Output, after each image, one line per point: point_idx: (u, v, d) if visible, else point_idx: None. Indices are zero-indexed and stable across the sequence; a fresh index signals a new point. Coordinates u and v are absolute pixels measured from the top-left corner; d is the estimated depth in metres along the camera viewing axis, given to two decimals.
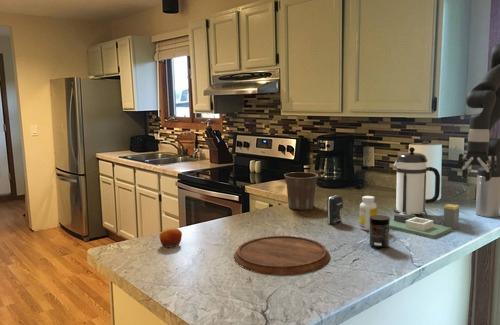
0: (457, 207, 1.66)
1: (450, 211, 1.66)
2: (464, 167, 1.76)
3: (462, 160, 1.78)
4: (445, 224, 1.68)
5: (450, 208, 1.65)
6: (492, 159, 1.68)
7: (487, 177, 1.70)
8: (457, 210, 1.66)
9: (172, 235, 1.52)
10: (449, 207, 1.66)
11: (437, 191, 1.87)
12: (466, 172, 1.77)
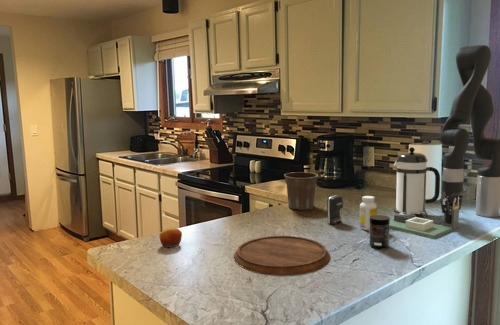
0: (457, 207, 1.66)
1: None
2: (451, 211, 1.65)
3: None
4: (445, 224, 1.68)
5: None
6: (461, 198, 1.69)
7: None
8: (457, 210, 1.66)
9: (172, 235, 1.52)
10: None
11: (437, 191, 1.87)
12: None
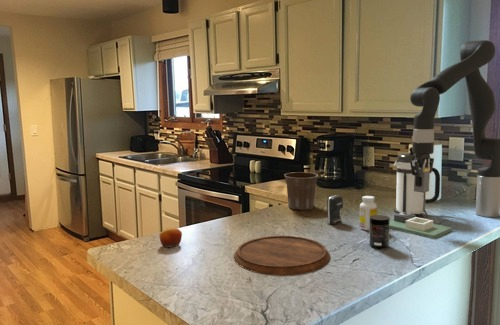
0: (427, 169, 1.62)
1: None
2: (421, 174, 1.60)
3: None
4: (415, 187, 1.63)
5: None
6: (432, 161, 1.65)
7: None
8: (427, 173, 1.62)
9: (172, 235, 1.52)
10: None
11: (437, 191, 1.87)
12: None
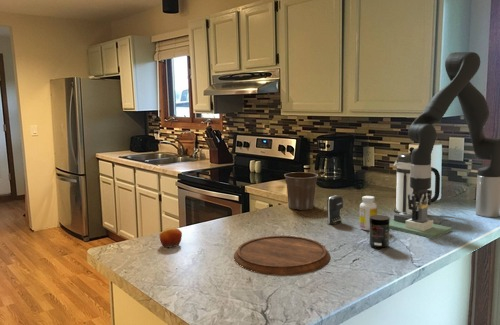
0: (425, 206, 1.64)
1: (418, 210, 1.63)
2: (418, 208, 1.62)
3: None
4: None
5: None
6: (430, 193, 1.67)
7: None
8: (425, 209, 1.64)
9: (172, 235, 1.52)
10: None
11: (437, 191, 1.87)
12: None
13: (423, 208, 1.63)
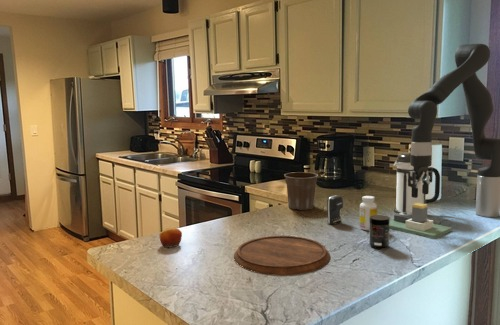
0: (425, 206, 1.64)
1: (418, 210, 1.63)
2: (417, 185, 1.60)
3: None
4: None
5: (418, 207, 1.63)
6: (431, 170, 1.66)
7: None
8: (425, 209, 1.64)
9: (172, 235, 1.52)
10: (417, 206, 1.64)
11: (437, 191, 1.87)
12: None
13: (423, 208, 1.63)
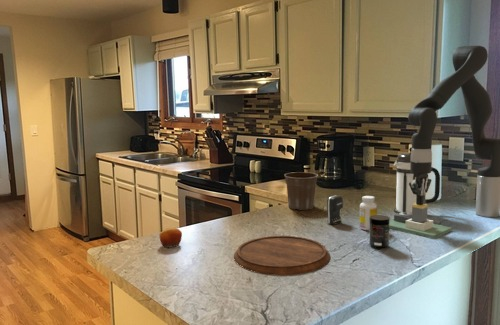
0: (425, 206, 1.64)
1: (418, 210, 1.63)
2: (422, 192, 1.63)
3: None
4: None
5: (418, 207, 1.63)
6: (429, 182, 1.66)
7: None
8: (425, 209, 1.64)
9: (172, 235, 1.52)
10: (417, 206, 1.64)
11: (437, 191, 1.87)
12: None
13: (423, 208, 1.63)
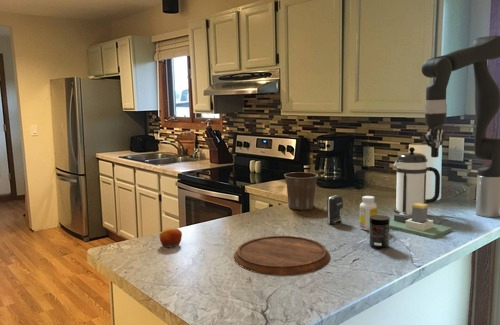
0: (425, 206, 1.64)
1: (418, 210, 1.63)
2: (437, 144, 1.62)
3: None
4: None
5: (418, 207, 1.63)
6: (444, 134, 1.65)
7: None
8: (425, 209, 1.64)
9: (172, 235, 1.52)
10: (417, 206, 1.64)
11: (437, 191, 1.87)
12: None
13: (423, 208, 1.63)
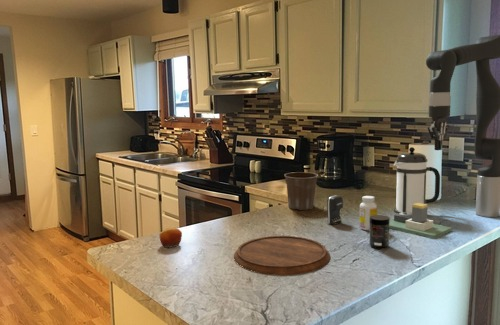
0: (425, 206, 1.64)
1: (418, 210, 1.63)
2: (441, 137, 1.62)
3: None
4: None
5: (418, 207, 1.63)
6: (448, 128, 1.65)
7: None
8: (425, 209, 1.64)
9: (172, 235, 1.52)
10: (417, 206, 1.64)
11: (437, 191, 1.87)
12: None
13: (423, 208, 1.63)
